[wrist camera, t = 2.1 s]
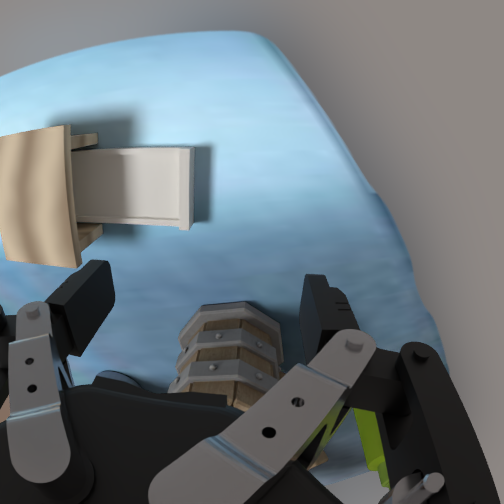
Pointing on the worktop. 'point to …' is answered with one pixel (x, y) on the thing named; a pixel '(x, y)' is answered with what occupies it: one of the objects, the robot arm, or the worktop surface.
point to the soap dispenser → (372, 443)
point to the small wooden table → (42, 198)
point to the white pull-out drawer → (134, 185)
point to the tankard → (231, 355)
